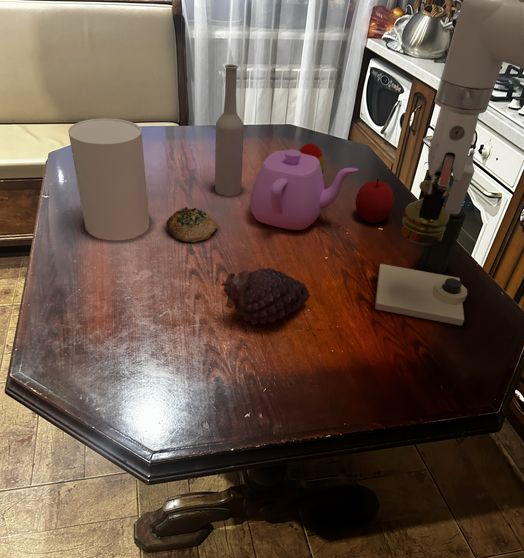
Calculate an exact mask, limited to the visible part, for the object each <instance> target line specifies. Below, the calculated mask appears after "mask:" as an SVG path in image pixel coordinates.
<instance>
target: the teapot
mask: <svg viewBox="0 0 524 558" xmlns="http://www.w3.org/2000/svg"><path fill="white" fill-rule="evenodd" d="M263 161H264V162H262V164H261V167H260V168H259V171H258V172H257V175H256V177H255V179H254V182H253V184H252V188H251V194H250V200H249V208H250V211H251V213H252V215H253V217H254V219H255V220H256V221H257V222H260V223H262V224H265V225H269V226H273V227H275V228H276V227H277V228H282V229H287V230H295V231H298V230H299V231H300V230H304V229H307V228H308V227H310V226H311V225H312V224H313V223H314V222H315V221H316V220H317V219H318V218H319V217H320V215H321V214H322V212H323V209H326V208H328V207H329V206H331V205H332V204H333V203H334V202H335V201H336V200H337V198H338V196H339V193H340V191H341V188H342V186H343V183H344V182H345V180H346V179H347V177H349V176H350V175H351V174H353V173H355V172H357V171H359V168H356V167H345V168H341V169H340V170H339V171H338V172H337V174H336V175H335V177H334V179H333V182H332V184H331V185H330V186H329V187H328V188H325V181H324V173H323V174H322V170H321V166H320V162H319V160H318V159H317V158H316V157H314V156H311V155H307V154H302V153H301V152H300V151H299V150H298V149H293V148H292V149H286V150H283V149H282V150H276V151H274V152H272V153H270V154H269V155H268V156H267V157H266V158H265V159H264V160H263Z"/></svg>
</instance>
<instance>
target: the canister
mask: <svg viewBox="0 0 524 558" xmlns="http://www.w3.org/2000/svg"><path fill="white" fill-rule="evenodd" d="M67 133H68V137H69V143H70V148H71V153H72V160H73V165H74V171H75V176H76V182H77V187H78V194H79V198H80V204H81V211H82V216H83V221H84V227H85V230H86V232H87V233H88V234H89V235H90V236H92V237H94V238H97V239H100V240H106V241H125V240H131V239H135V238H137V237H139V236H142V235H143V234H144V233H146V232H147V231H148V229H149V227H150V214H149V213H150V212H149V204H148V203H149V201H148V192H147V191H148V190H147V180H146V169H145V168H146V167H145V166H146V165H145V156H144V144H143V143H144V142H143V132H142V128H141V127H140V126H139V125H138V124H137V123H135V122H132V121H130V120H126V119H122V118H121V119H120V118H112V117H111V118H110V117H103V118H101V117H100V118H98V117H97V118H91V119H86V120H82V121H79V122H76V123H74V124H73V125H70V127H69V128H68V132H67Z"/></svg>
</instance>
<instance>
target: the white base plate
mask: <svg viewBox="0 0 524 558" xmlns="http://www.w3.org/2000/svg"><path fill="white" fill-rule="evenodd" d="M378 267H379V268H378V273H377V274H378V275H377V283H376V292H375V294H376V295H375V303H374V310H378V311H383V312H389V313H392V314H399V315H404V316H410V317H414V318H420V319H426V320H430V321H435V322H441V323H447V324H451V325H457V326H463V325H464V322H465V313H464V305H463V303H464V302H465V300H466V299H467V295H468V289H467V287H465V286H464V285H463V284H462V286H461V288H460V290H459V293H458V294H450V293H447V292H445V291H444V290H443V286H444V283H445V281H446V279H448V278H454V279H457V280H459V281H460V282H461V278H460V277H457V276H450V275H445V274H443V275H440V274H435V273H429V272H423V271H419V270H418V269H411V268H407V267H401V266H397V265H396V266H395V265H391V264H385V263H380V264H379V266H378Z"/></svg>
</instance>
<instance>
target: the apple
mask: <svg viewBox="0 0 524 558" xmlns="http://www.w3.org/2000/svg"><path fill="white" fill-rule="evenodd" d="M394 206H395V194H394V191H393V189H392V188H391V186H390V185H389V184H388V183H387V182H385V181H381V180H379V178H376V180H372V181H371V180H370V181H368V182H364V184H363V185H362V186H361V187H360V188H359V190H358V191H357V194H356V197H355V209H356V211H357V214H358V215H359V217H360V218H361V219H362V220H365V221H366V222H368V223H373V224H374V223H375V224H376V223H380V222H383V221H384V220H385V219H387V218H388V217H389V216H390V215H391V213H392V212H393V209H394Z"/></svg>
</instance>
